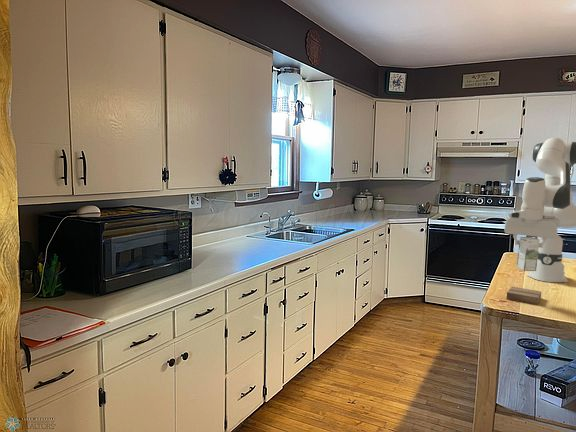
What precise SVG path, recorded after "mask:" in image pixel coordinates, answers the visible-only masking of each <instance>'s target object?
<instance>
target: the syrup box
mask: <svg viewBox="0 0 576 432" xmlns="http://www.w3.org/2000/svg"><path fill="white" fill-rule="evenodd" d="M539 241H540V240H539V239H538V237H535V236H519V245H518V251H517V259H516V260H517V262H516V269H518V270H521V271H524V272H531V271H536V267H537V258H538V250H539Z"/></svg>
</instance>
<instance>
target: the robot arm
mask: <svg viewBox="0 0 576 432" xmlns="http://www.w3.org/2000/svg"><path fill="white" fill-rule="evenodd" d="M531 157H532V161H533V162H534V163H535V164H536V165H535V166H536V167H537V169H538V170H539V171H540V172H541V173H543V174H545V176H544V178H543V177H539V176H537V177H536V176H535V177H527V178H526V179H525V181H524V184H523V189H522V191H521V201H522V203H521V206H520V210H515V211H511V212H509V213H508V217H509V218H507V219H506V221H505V224H504V228H503V229H504V230H503V231H504V233H505V234H509V235H512V238H513V239H514V241H515V242H514V244H515V245H516V246H517V245H518V246H519V240H520V239H519V240H518V238H517V237H518V236H525V237H535V238H537V239H539V240H540V241H539V250H538V258H537V267H536V271H529V272H528V273H526V277H530V278H531V279H534V280H537V281H542V282H548V283H569V281H568V279H567V277H566V276H565V274H566V272H565V265H564V263H563V262H562V261H563V253H562V252H563V244H564V243H563V242H564V241H563V238H562V236H560V235H559V234H558V228H562V229H563V228H564V229H571V228H576V206H575V204H574V203H573V202H572V200H573V192H572V189H571V183H572V182H571V179H572V178H571V167H573V166H574V165H575V164H576V141H564V140H562V139H561V138H559V137H551V138H547V139H546V140H545V141H544V142H540V143H536V144H535V145H534V146H533V148H532V151H531Z"/></svg>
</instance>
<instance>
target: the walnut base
mask: <svg viewBox="0 0 576 432" xmlns="http://www.w3.org/2000/svg"><path fill="white" fill-rule="evenodd" d="M541 299H542V291H538V290H534V289H528V288H522V287H516V286H511V287H510V288H509V289H508V291H506V300H509V301H510V300H511V301H515V302H521V303H524V304H525V303H526V304H531V305H535V306H537V305H538V304H539V302H540V301H541Z"/></svg>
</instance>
